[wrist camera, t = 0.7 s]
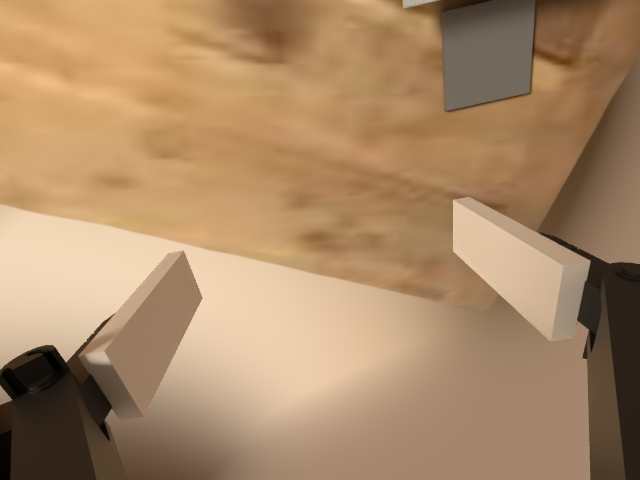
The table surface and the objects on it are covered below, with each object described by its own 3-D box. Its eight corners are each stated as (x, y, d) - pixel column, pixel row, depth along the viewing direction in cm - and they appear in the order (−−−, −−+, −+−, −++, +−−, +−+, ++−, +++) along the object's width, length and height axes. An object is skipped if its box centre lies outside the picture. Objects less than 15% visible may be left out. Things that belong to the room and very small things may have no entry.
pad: (441, 13, 33) (443, 11, 33) (532, -8, 33) (536, -10, 33) (444, 110, 37) (446, 110, 37) (525, 92, 37) (529, 92, 37)
